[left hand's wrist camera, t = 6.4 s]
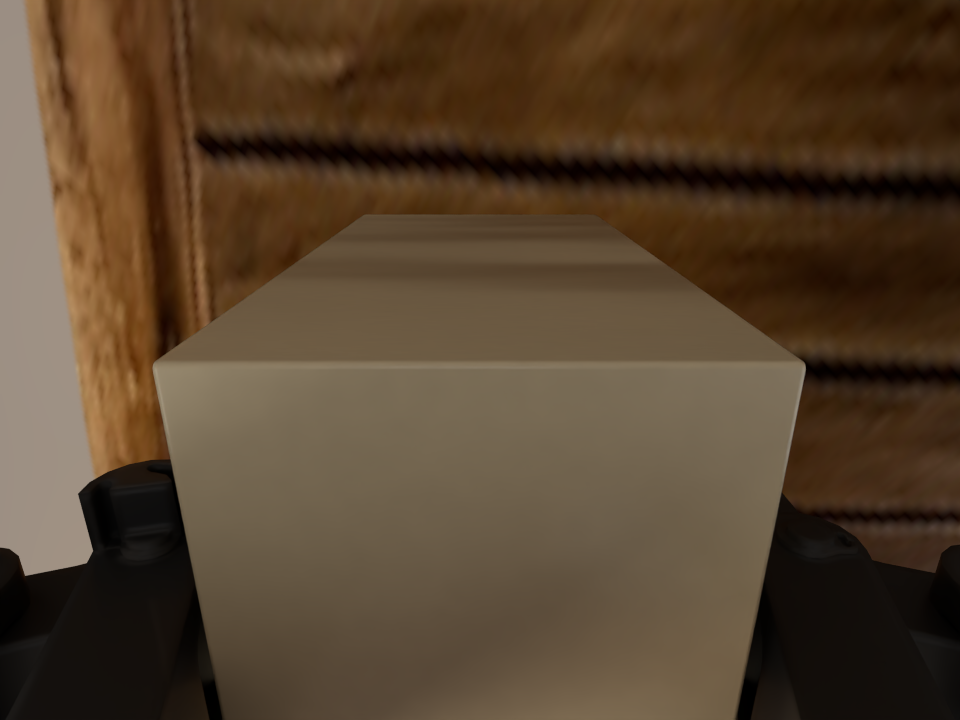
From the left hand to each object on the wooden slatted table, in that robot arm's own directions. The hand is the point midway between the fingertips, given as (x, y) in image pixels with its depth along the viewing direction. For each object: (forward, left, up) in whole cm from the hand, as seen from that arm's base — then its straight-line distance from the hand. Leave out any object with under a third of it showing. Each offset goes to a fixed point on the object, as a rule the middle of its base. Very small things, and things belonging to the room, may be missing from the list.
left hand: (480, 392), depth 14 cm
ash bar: (0, +8, 0) cm, 8 cm away
